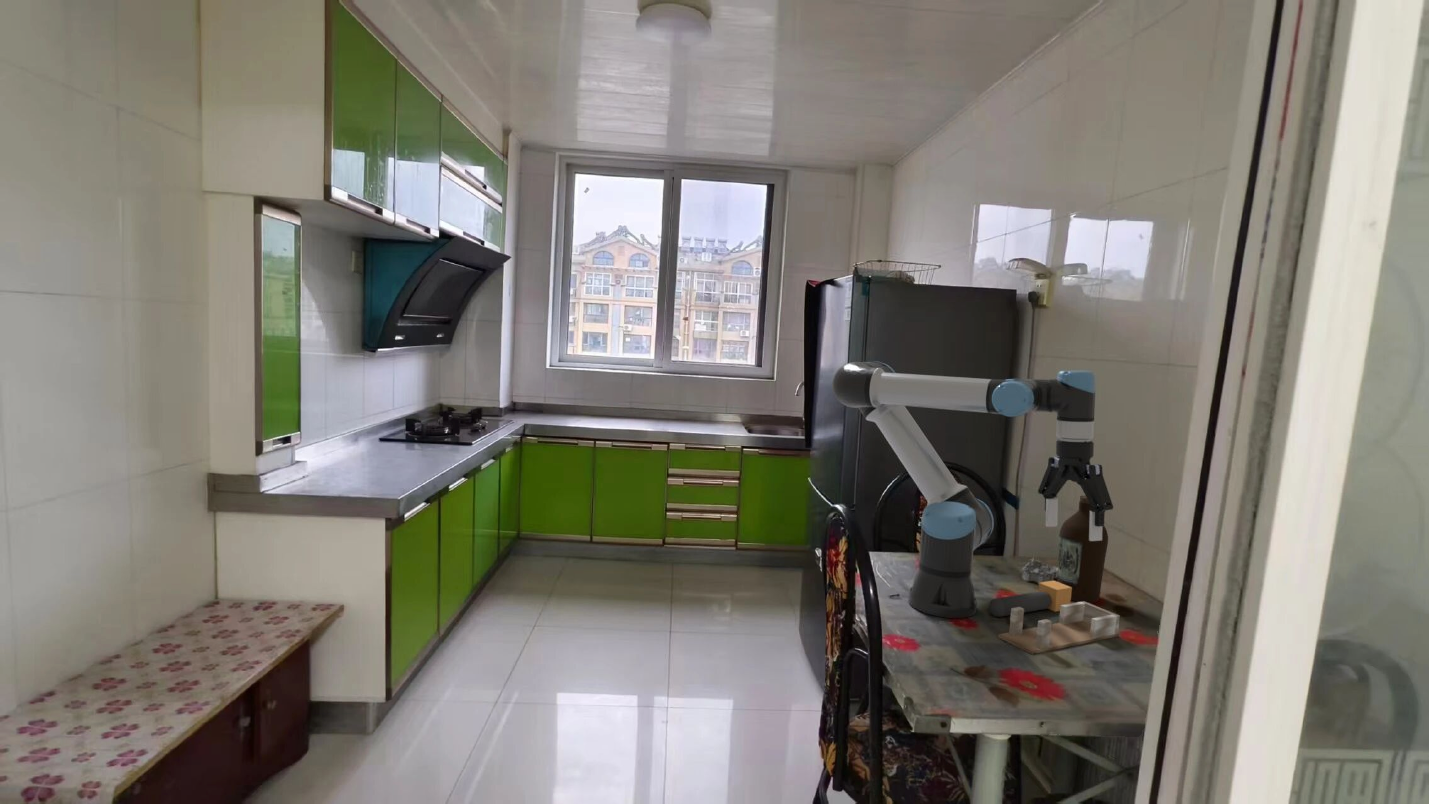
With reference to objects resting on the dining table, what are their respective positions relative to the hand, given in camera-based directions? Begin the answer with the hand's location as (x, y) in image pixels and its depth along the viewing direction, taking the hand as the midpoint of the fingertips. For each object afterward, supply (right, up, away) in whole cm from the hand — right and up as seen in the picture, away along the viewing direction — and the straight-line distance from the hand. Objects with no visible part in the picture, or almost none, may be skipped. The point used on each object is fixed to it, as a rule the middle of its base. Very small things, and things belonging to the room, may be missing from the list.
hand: (1072, 533), depth 163 cm
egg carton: (+5, -17, +28) cm, 33 cm away
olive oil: (+9, -19, +15) cm, 26 cm away
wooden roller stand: (-8, -20, -10) cm, 24 cm away
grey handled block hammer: (-9, -19, +4) cm, 21 cm away
